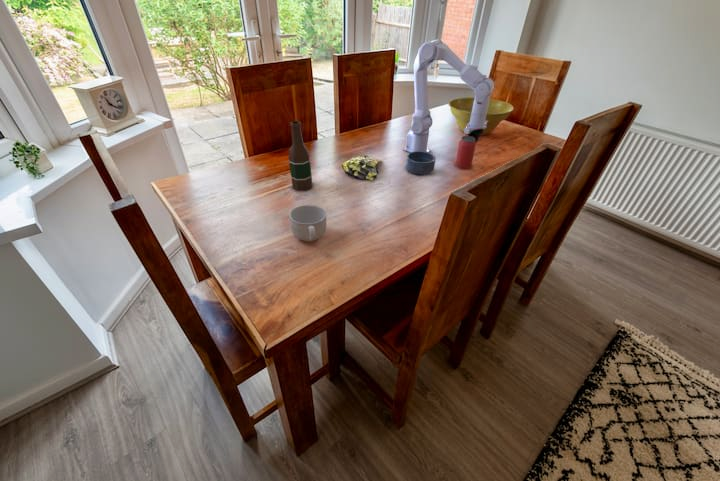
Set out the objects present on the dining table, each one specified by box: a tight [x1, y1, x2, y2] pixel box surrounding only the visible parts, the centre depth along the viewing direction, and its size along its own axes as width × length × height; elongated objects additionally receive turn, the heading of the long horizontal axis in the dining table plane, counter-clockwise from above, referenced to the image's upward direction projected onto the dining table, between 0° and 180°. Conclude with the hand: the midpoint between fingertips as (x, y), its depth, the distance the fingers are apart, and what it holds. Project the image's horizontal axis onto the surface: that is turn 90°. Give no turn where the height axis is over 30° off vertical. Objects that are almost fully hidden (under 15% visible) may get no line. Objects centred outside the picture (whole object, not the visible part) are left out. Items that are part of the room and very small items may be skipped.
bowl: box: [405, 151, 437, 175], centre depth 133 cm, size 12×12×6 cm
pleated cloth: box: [341, 153, 382, 182], centre depth 134 cm, size 20×16×7 cm
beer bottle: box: [288, 120, 313, 192], centre depth 115 cm, size 8×8×24 cm
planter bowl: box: [447, 96, 515, 136], centre depth 168 cm, size 32×32×13 cm
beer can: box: [455, 135, 477, 170], centre depth 133 cm, size 7×7×12 cm
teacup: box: [288, 204, 328, 242], centre depth 94 cm, size 14×11×8 cm
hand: (471, 146), depth 135 cm, fingers closed
